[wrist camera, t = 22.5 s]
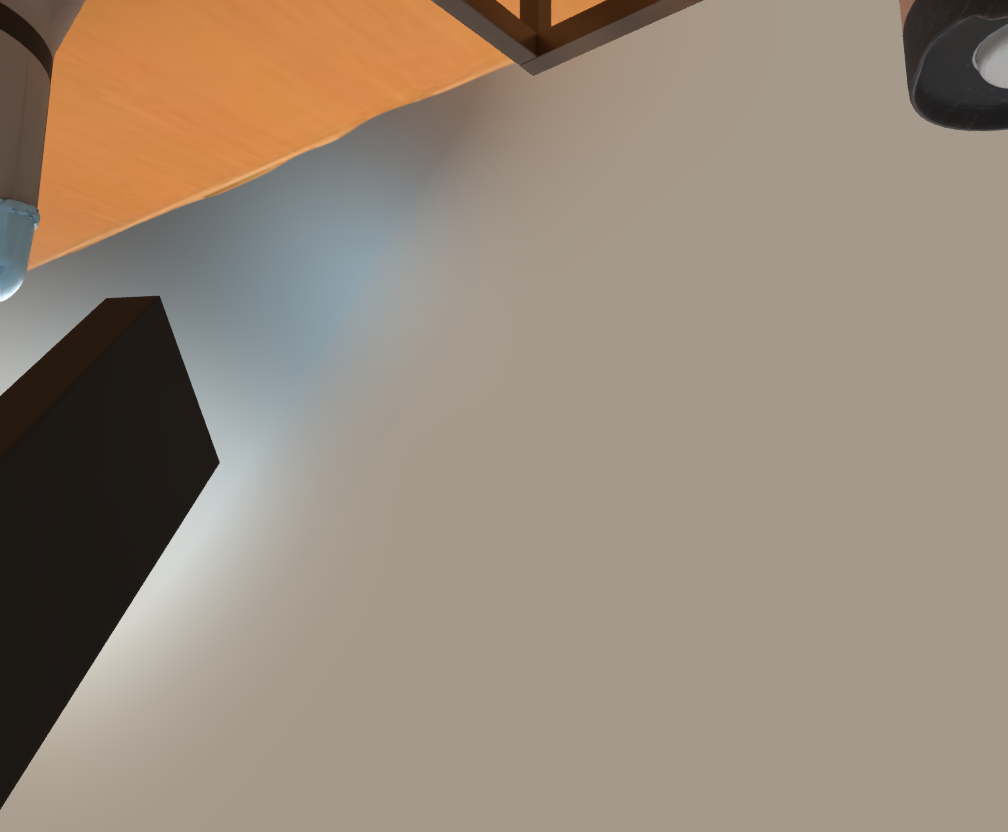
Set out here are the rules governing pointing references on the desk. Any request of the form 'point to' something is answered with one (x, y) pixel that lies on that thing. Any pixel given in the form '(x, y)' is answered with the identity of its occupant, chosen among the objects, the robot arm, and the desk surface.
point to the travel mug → (957, 62)
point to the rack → (556, 27)
